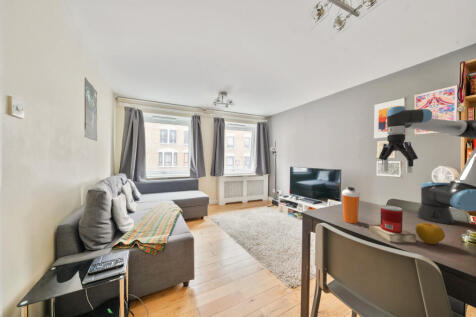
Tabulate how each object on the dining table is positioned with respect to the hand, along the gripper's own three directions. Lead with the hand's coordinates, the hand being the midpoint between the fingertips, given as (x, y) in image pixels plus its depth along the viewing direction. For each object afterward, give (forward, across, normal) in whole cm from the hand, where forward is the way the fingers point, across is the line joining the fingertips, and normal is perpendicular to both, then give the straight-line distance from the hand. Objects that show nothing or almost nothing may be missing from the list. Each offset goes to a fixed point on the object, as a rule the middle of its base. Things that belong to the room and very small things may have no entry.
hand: (396, 171), depth 98 cm
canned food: (+27, +14, -17) cm, 35 cm away
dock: (+30, +14, -18) cm, 37 cm away
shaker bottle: (+30, -6, -24) cm, 38 cm away
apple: (+30, +21, -7) cm, 38 cm away
